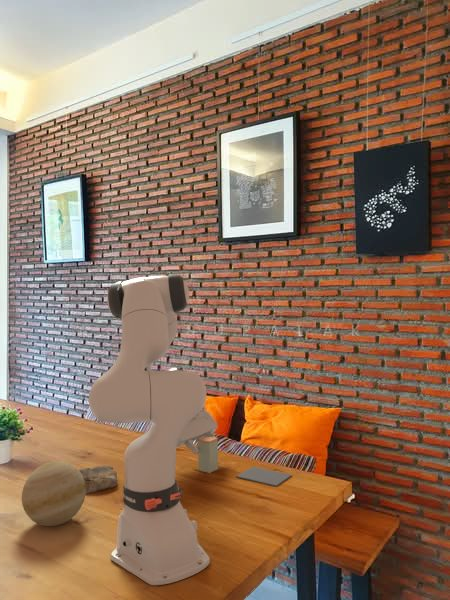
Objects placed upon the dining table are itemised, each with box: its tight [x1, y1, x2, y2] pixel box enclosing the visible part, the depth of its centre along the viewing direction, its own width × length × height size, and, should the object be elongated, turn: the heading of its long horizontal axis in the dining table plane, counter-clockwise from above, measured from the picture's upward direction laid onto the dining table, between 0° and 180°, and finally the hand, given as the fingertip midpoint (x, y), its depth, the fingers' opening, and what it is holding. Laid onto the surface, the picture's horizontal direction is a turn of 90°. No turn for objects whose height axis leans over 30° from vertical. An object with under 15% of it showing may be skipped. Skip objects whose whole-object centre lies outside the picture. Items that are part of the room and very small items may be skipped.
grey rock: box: [78, 465, 119, 495], centre depth 143 cm, size 14×5×20 cm
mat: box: [236, 466, 293, 487], centre depth 148 cm, size 14×10×1 cm
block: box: [197, 436, 219, 474], centre depth 155 cm, size 4×4×10 cm
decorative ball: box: [21, 460, 87, 527], centre depth 119 cm, size 15×15×15 cm
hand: (207, 448), depth 155 cm, fingers open, 8 cm apart
